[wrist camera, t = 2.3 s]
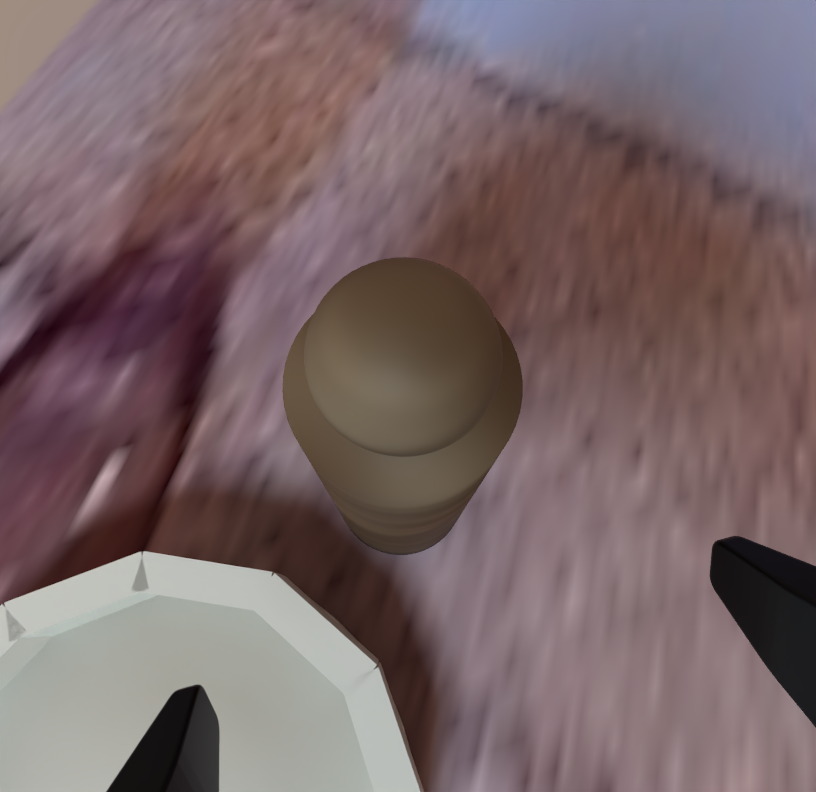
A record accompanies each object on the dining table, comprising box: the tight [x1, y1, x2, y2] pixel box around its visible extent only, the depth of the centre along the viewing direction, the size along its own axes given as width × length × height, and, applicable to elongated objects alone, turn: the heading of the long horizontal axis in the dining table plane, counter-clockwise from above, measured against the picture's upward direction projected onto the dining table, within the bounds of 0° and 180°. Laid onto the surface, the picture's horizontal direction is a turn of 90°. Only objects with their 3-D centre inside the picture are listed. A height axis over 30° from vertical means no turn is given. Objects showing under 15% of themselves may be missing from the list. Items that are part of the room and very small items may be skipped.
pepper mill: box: [283, 258, 522, 555], centre depth 15 cm, size 5×5×14 cm
